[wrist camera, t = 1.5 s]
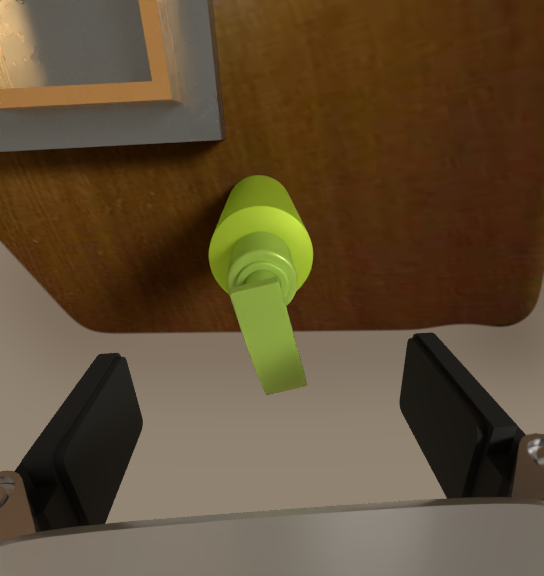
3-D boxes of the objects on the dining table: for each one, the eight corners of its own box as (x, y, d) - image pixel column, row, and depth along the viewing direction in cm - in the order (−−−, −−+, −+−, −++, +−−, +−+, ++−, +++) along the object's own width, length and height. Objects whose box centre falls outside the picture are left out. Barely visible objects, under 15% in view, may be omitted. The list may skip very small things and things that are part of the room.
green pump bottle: (240, 256, 33) (222, 413, 15) (218, 185, 30) (160, 271, 12) (299, 241, 32) (355, 383, 14) (282, 167, 29) (325, 228, 11)
